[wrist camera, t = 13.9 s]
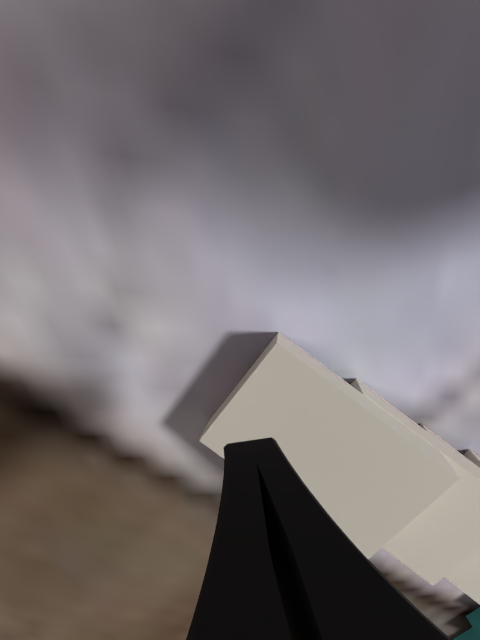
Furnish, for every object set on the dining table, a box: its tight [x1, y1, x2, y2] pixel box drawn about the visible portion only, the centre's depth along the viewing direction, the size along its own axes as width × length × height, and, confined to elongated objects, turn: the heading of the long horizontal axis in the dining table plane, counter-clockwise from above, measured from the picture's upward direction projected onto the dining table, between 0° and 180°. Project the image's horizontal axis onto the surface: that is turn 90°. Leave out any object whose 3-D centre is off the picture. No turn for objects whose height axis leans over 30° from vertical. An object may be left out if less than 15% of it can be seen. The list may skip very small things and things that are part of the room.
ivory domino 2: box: [350, 379, 480, 585], centre depth 15 cm, size 2×5×8 cm
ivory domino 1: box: [199, 332, 460, 559], centre depth 13 cm, size 2×5×8 cm
